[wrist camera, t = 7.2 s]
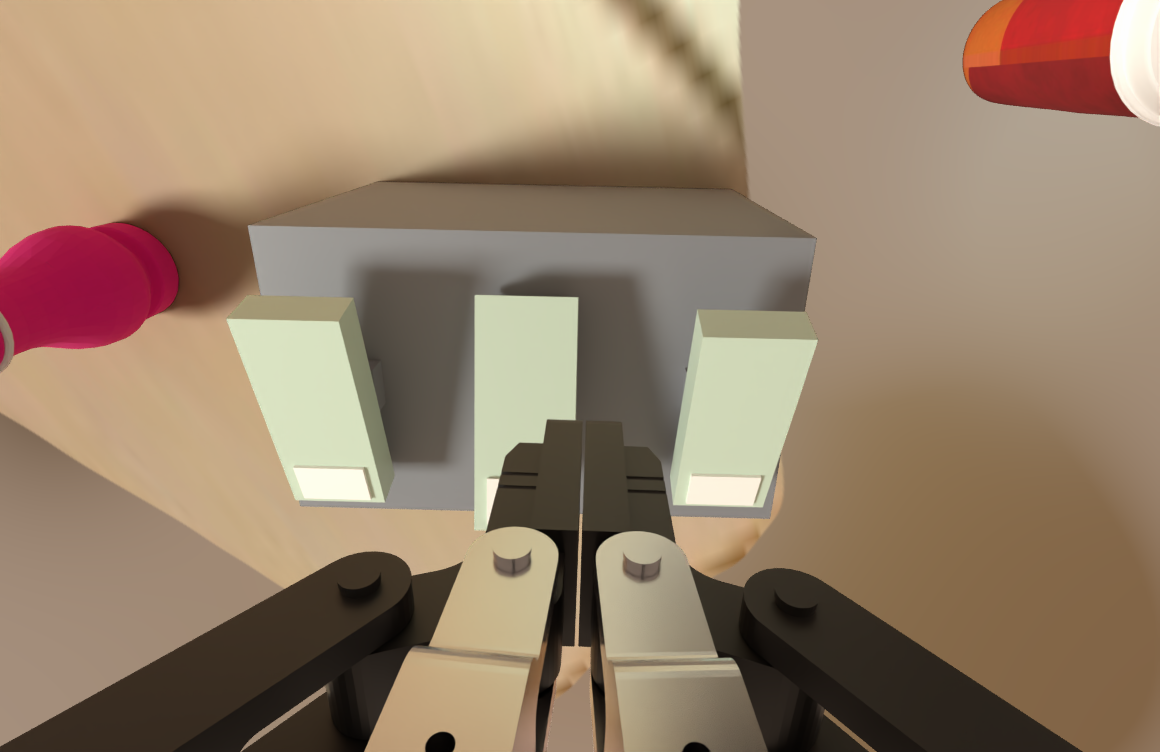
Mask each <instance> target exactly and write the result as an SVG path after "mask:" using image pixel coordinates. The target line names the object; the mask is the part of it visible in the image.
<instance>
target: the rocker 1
mask: <svg viewBox="0 0 1160 752" xmlns="http://www.w3.org/2000/svg"><path fill="white" fill-rule="evenodd" d="M226 320H227V322H228V325H229V328H230V330H231V333H232V336H233V338H234V341H235V343H236V346H237V349H238V351H239V354H240V356H241V359H242V362H243V364H244V367H245V369H246V372H247V375H248V377H249V380H250V382H251V385H252V388H253V390H254V393H255V396H256V398H257V401H258V403H259V406H260V409H261V411H262V414H263V416H264V419H265V422H266V424H267V427H268V429H269V432H270V435H271V437H272V440H273V442H274V445H275V448H276V450H277V453H278V455H279V458H280V461H281V463H282V466H283V469H284V471H285V474H286V476H287V479H288V482H289V484H290V487H291V489H292V492H293V495H294V497H295V500H308V501H345V502H383V503H385V501H386V499H387V496H388V493H389V490H390V487H391V484H392V482H393V479H394V476H395V473H394V469H393V465H392V461H391V456H390V452H389V448H388V443H387V439H386V435H385V431H384V426H383V422H382V418H381V414H380V409H379V405H378V401H377V396H376V392H375V388H374V384H373V379H372V375H371V371H370V367H369V362H368V358H367V354H366V349H365V345H364V341H363V337H362V332H361V328H360V324H359V320H358V315H357V311H356V307H355V302H354V298H347V297H304V296H262V295H247V296H246V297H245V298H244V299H243V301H242V302H241V303H240V304H239V305H238V306H237V307H236V308H235V310H234V311H233V312H232V313H231V314H230V315H229V316H228V317H227V318H226Z"/></svg>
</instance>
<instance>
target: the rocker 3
mask: <svg viewBox="0 0 1160 752" xmlns="http://www.w3.org/2000/svg"><path fill="white" fill-rule="evenodd" d="M817 342H818V338H817V336H816V333H815V331H814V329H813V326H812V324H811V322H810V319H809V317H808V315H807V313H806V312H791V311H748V310H706V309H697V315H696V321H695V327H694V333H693V339H692V345H691V351H690V357H689V363H688V369H687V375H686V381H685V387H684V393H683V400H682V406H681V412H680V418H679V424H678V430H677V436H676V442H675V448H674V454H673V460H672V466H671V472H670V481H671V491H672V500H673V505H688V506H725V507H763V505H764V502H765V499H766V496H767V493H768V490H769V487H770V484H771V481H772V478H773V475H774V472H775V469H776V466H777V463H778V460H779V457H780V454H781V451H782V448H783V445H784V441H785V439H786V435H787V433H788V429H789V427H790V423H791V420H792V417H793V414H794V411H795V409H796V406H797V402H798V400H799V396H800V394H801V391H802V388H803V385H804V382H805V379H806V375H807V372H808V369H809V366H810V363H811V360H812V357H813V354H814V351H815V348H816V345H817Z"/></svg>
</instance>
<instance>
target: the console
mask: <svg viewBox="0 0 1160 752" xmlns="http://www.w3.org/2000/svg"><path fill="white" fill-rule="evenodd" d="M248 230H249V235H250V241H251V246H252V251H253V257H254V262H255V267H256V273H257V278H258V283H259V289H260V294H261V295H262V296H304V297H347V298H354V302H355V307H356V311H357V315H358V320H359V324H360V328H361V332H362V337H363V341H364V345H365V349H366V354H367V358H368V362H369V367H370V371H371V375H372V379H373V384H374V388H375V392H376V396H377V401H378V405H379V409H380V414H381V418H382V422H383V426H384V431H385V435H386V439H387V443H388V448H389V452H390V456H391V461H392V465H393V469H394V473H395V476H394V479H393V482H392V484H391V487H390V490H389V493H388V496H387V499H386V501H385V503H383V502H345V501H308V500H299V502H300V506H310V507H347V508H385V509H422V510H460V511H474V402H475V295H509V296H551V297H579V309H578V353H577V397H576V420H583V429H582V459H581V489H580V514H583V491H584V463H585V435H586V420H588V421H616V422H622V429H623V441H624V446H635V447H648V448H649V449H650V450H651V451H652V452H653V453H654V454H655V455H656V457H657V458H658V459H659V460H660V461H661V465H662V470H663V476H664V481H665V487H666V494H667V498H668V504H669V509H670V515H671V516H685V517H722V518H760V519H770V516H771V510H772V504H773V498H774V492H775V486H776V480H777V474H778V468H779V462H780V457H779V460H778V463H777V466H776V469H775V472H774V475H773V478H772V481H771V484H770V487H769V490H768V493H767V496H766V499H765V502H764V505H763V507H725V506H688V505H673V500H672V491H671V481H670V472H671V466H672V460H673V454H674V448H675V442H676V436H677V430H678V424H679V418H680V412H681V406H682V400H683V393H684V387H685V381H686V375H687V369H688V363H689V357H690V351H691V345H692V339H693V333H694V327H695V321H696V315H697V309H706V310H748V311H791V312H805V306H806V300H807V294H808V288H809V282H810V276H811V270H812V264H813V258H814V252H815V246H816V240H817V238H815V237H814V236H812V235H810V234H808V233H807V232H805V231H803V230H802V229H800V228H798V227H796V226H794V225H793V224H791V223H789V222H788V221H786V220H784V219H782V218H781V217H779V216H777V215H775V214H774V213H772V212H770V211H768V210H767V209H765V208H763V207H761V206H760V205H758V204H756V203H755V202H753V201H751V200H749V199H748V198H746V197H744V196H742V195H741V194H739V193H737V192H736V191H734V190H732V189H698V188H652V187H606V186H561V185H515V184H469V183H423V182H375V183H372V184H369V185H366V186H363V187H360V188H357V189H354V190H351V191H348V192H345V193H342V194H339V195H336V196H333V197H330V198H327V199H325V200H322V201H319V202H316V203H313V204H310V205H307V206H304V207H301V208H298V209H295V210H292V211H289V212H286V213H283V214H280V215H277V216H274V217H271V218H268V219H265V220H262V221H259V222H256V223H253V224H250V225H248ZM780 456H781V454H780Z"/></svg>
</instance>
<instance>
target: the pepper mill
mask: <svg viewBox="0 0 1160 752" xmlns="http://www.w3.org/2000/svg"><path fill="white" fill-rule="evenodd" d="M178 283H179V277H178V273H177V269H176V265H175V263H174V261H173V259H172V257H171V255H170V253H169V252H168V251H167V249H166V248H165V247H164V246H163V245H162V244H161V242H160V241H159V240H157V239H156V238H155V237H153V236H152V235H151V234H149V233H148V232H146V231H144V230H142V229H140V228H138V227H135V226H133V225H129V224H124V223H109V224H104V225H100V226H95V227H91V228H86V227H82V226H70V225H69V226H56V227H52V228H48V229H46V230H43V231H40V232H37V233H34V234H32V235H30V236H28V237H26V238H25V239H23V240H22V241H20V242H19V243H17V244H16V245H14V246H13V247H12V248H10V249H9V250H8V251H7V252H6V253H5V254H4V256H3V257H2V258H1V259H0V373H1V372H2V371H3V370H5V369H6V368H7V367H8V365H9V364H10V362H11V360H12V358H13V356H14V355H16V354H18V353H21V352H24V351H26V350H29V349H32V348H37V347H55V348H68V349H84V348H95V347H100V346H105V345H108V344H111V343H114V342H117V341H120V340H122V339H125V338H127V337H128V336H130V335H131V334H133V333H134V332H135V331H137V330H138V329H139V328H140V326H141V325H142V324H143V322H144V321H145V319H147V318H150V317H152V316H154V315H156V314H158V313H160V312H162V311H164V310H165V309H166V308H168V307H169V306H170V305H171V304H172V302H173V301H174V299H175V297H176V294H177V292H178Z"/></svg>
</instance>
